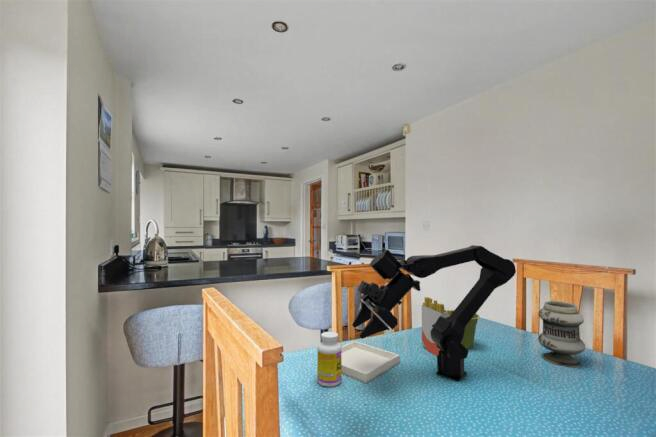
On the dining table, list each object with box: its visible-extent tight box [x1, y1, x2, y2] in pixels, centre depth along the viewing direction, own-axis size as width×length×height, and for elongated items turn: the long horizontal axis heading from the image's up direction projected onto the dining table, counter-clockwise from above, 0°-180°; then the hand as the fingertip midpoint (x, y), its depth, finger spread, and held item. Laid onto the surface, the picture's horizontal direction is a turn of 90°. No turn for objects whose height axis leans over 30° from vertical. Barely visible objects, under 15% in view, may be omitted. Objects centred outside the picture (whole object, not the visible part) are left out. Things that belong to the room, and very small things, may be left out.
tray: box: [341, 340, 401, 384], centre depth 98 cm, size 18×18×2 cm
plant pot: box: [446, 309, 480, 350], centre depth 113 cm, size 12×12×11 cm
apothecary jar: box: [537, 300, 586, 368], centre depth 101 cm, size 12×12×18 cm
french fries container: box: [421, 296, 451, 357], centre depth 107 cm, size 5×11×18 cm, turn 17°
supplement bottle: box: [316, 331, 342, 388], centre depth 86 cm, size 7×7×13 cm
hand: (356, 331), depth 87 cm, fingers open, 9 cm apart
